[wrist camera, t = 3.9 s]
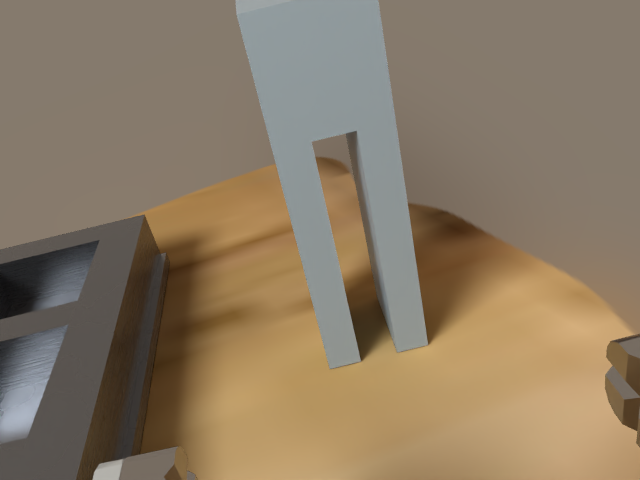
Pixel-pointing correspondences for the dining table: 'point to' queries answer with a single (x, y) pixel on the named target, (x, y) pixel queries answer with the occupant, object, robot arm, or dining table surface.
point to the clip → (363, 143)
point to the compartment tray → (77, 348)
